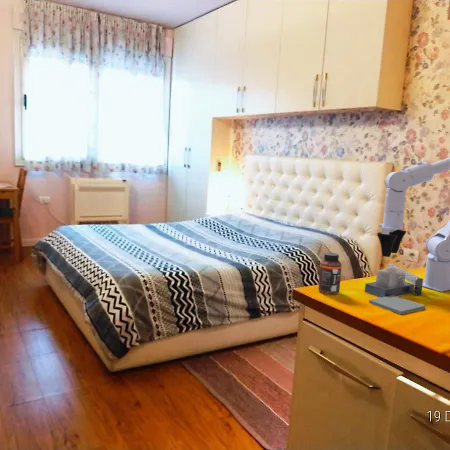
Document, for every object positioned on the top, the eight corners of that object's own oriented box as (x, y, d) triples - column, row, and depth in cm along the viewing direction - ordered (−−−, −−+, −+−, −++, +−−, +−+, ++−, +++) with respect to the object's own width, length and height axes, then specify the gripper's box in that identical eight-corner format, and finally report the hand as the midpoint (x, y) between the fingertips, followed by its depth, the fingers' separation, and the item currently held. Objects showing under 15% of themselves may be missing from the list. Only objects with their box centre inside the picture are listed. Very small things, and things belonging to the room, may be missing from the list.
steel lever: (391, 278, 145) (393, 264, 144) (422, 295, 127) (424, 279, 127) (386, 278, 145) (387, 264, 144) (416, 295, 127) (418, 279, 126)
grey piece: (393, 286, 136) (394, 278, 136) (413, 292, 130) (414, 284, 130) (364, 291, 129) (365, 283, 129) (384, 298, 124) (385, 290, 123)
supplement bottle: (339, 296, 125) (342, 256, 123) (318, 294, 126) (321, 255, 124) (338, 290, 130) (341, 252, 129) (318, 288, 131) (320, 250, 130)
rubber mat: (392, 297, 125) (393, 295, 125) (425, 308, 116) (425, 305, 116) (368, 302, 119) (369, 299, 119) (400, 314, 111) (400, 311, 111)
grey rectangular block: (391, 280, 133) (392, 267, 133) (404, 284, 129) (405, 271, 129) (375, 283, 130) (377, 270, 129) (388, 287, 126) (389, 273, 125)
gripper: (387, 208, 143) (384, 249, 145) (373, 211, 132) (369, 256, 134) (410, 210, 139) (406, 252, 141) (397, 214, 128) (393, 260, 130)
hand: (389, 254), depth 137 cm, fingers open, 7 cm apart
